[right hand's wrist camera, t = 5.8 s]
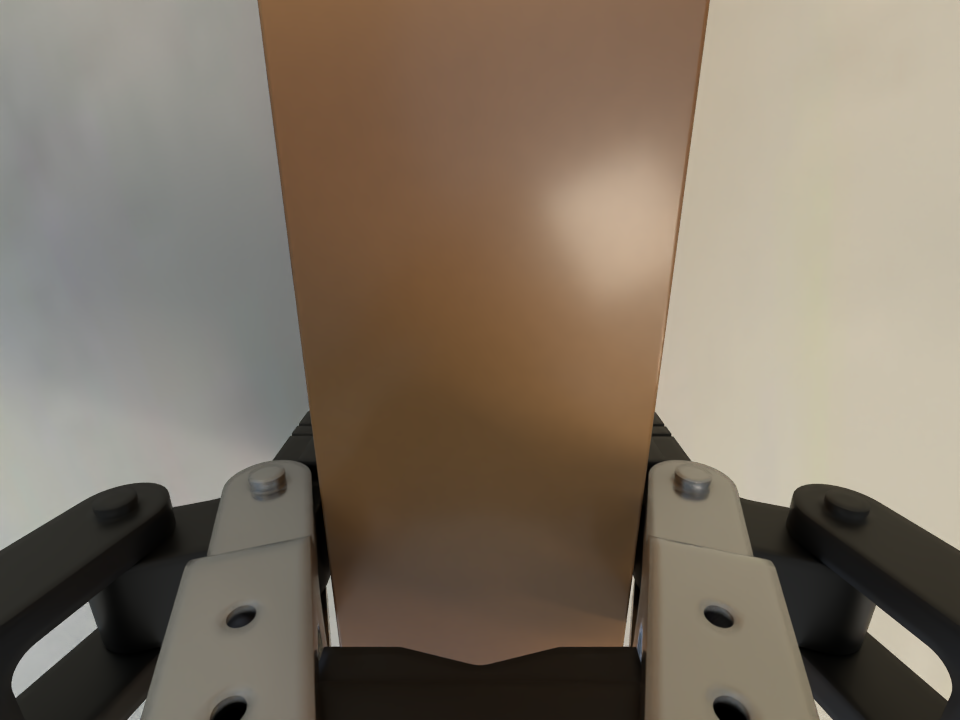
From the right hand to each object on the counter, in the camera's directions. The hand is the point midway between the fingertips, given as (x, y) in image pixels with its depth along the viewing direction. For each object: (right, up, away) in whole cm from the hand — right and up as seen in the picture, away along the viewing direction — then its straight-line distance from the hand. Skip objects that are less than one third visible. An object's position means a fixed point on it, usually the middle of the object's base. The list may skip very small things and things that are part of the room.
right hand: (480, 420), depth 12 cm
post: (0, +21, -4) cm, 21 cm away
